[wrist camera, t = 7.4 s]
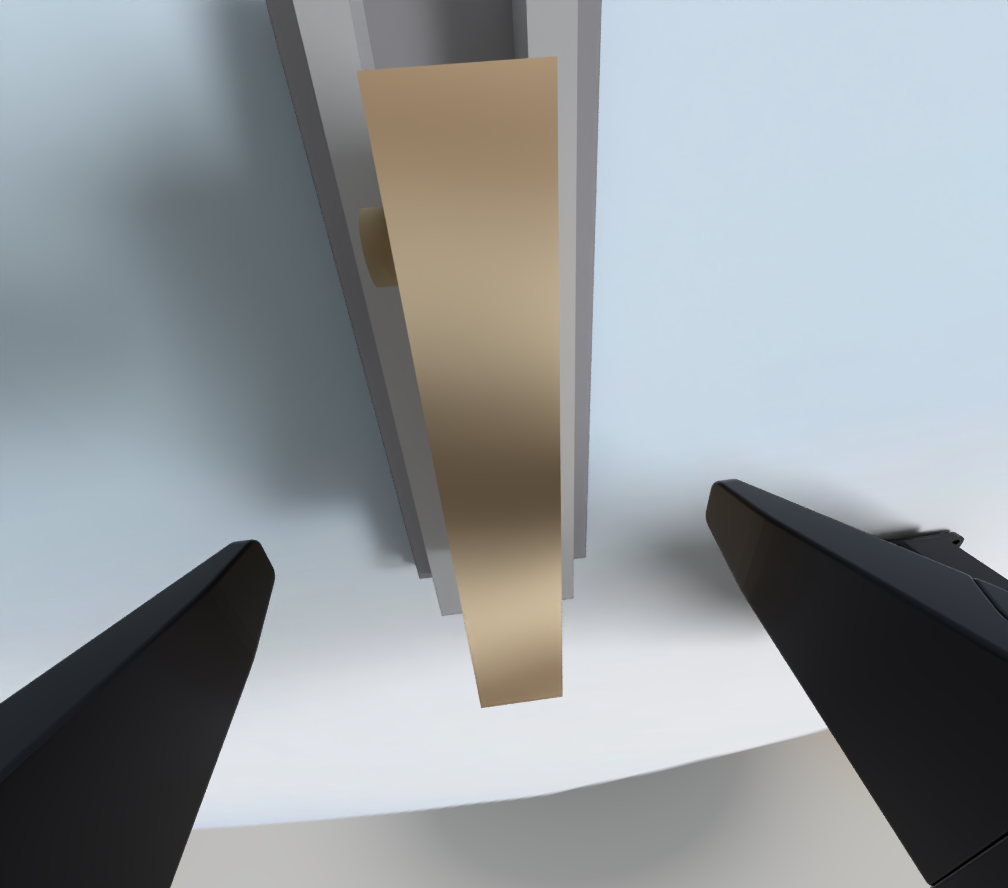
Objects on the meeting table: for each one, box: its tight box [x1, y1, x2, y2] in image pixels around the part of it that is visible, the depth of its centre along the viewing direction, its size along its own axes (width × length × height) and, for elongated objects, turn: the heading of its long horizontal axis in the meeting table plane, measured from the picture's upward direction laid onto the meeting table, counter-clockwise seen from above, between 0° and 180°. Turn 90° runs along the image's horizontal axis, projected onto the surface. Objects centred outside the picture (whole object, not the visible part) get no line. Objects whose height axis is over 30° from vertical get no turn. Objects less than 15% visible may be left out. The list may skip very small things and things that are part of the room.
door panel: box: [357, 56, 562, 708], centre depth 12 cm, size 14×3×9 cm, turn 4°
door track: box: [266, 0, 602, 616], centre depth 15 cm, size 22×9×4 cm, turn 5°
